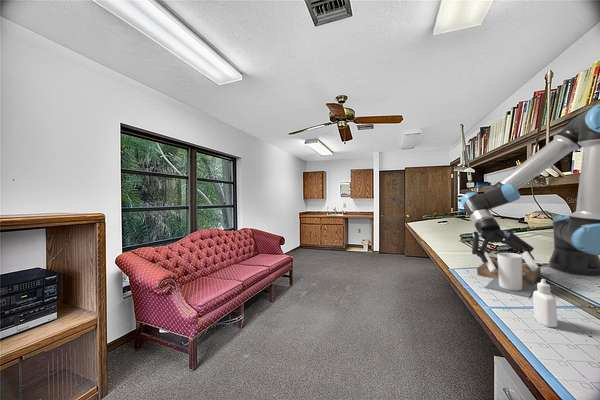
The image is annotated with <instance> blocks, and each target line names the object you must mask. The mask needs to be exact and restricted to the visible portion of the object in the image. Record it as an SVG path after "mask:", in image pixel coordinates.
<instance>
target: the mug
mask: <svg viewBox="0 0 600 400" xmlns="http://www.w3.org/2000/svg"><path fill="white" fill-rule="evenodd" d="M521 255H522V254H521ZM521 255H520V254H518V253H513V252H498V253H497V255H496V256H497V259H496V260H498V268H497V270H498V275H499V286H500V287H502V288H504V289H508V290H513V291H520V290H522V274H523V272H522V264H523V257H522V256H521Z"/></svg>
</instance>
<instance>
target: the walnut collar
mask: <svg viewBox="0 0 600 400" xmlns="http://www.w3.org/2000/svg"><path fill="white" fill-rule="evenodd" d="M490 259H491V258H490ZM491 261H492V263H493V264H494V266H495V268H496V269H495V270H494V271H493V272H490V270H489V269H488V267H487V265H486V263H483V262H482V264H481V265H479V266H478V267H476V271H477V276H482V277H487V278H490V279H491V278H492V279H494V278H497V279H499V275H498V259H491ZM537 266H538V267H539V268H537V269H536V270H535V271H532V270H531V269H530V267H529V266H528V265H527V263H525V264H524V263H522V284H528V285H533V286H535V285H534V284H535V283H536V282H537V280H538V278H539V277H540V276H541V274H542V273H541V271H542V269H541V268H542V267H541V266H539V265H537ZM523 273H525V274H523Z"/></svg>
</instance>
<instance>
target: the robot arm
mask: <svg viewBox="0 0 600 400" xmlns="http://www.w3.org/2000/svg"><path fill="white" fill-rule="evenodd" d="M580 149H582V156H581V166H580V172H579V173H580V174H579V182H578V190H577V191H578V192H577V198H576V206H575V207H576V209H575V211H574V212H572V213H570V214H568V215H561V214H560V215H554V217H553V219H552V225H553V226H552V227H553V228H552V229H553V252H552V254H551V257H550V259H549V261H548V263H549V267H550V268H551V269H553V270H556V271H559V272H560V271H561V272H563V273H568V274H569V273H570V274H575V275H585V276H600V103H598V104H596V105H594V106H593V107H591V108H590V109H588V110H586V111H584V112H581V113H580V114H578V115H577V116H576V117H575V118H574V119H572V120H571V121H570V122H569V123H568V124H567V125H566V126H565V127H563V128H562V129H561V130H560V131H558V132H557V133H556V134H554V135H553V140H552V141H550V142H549V143H547V144H546V145H545V146H543V147H542V148H541V149H540V150H538V151H537V152H535V153H534V154H533V155H531V156H530V157H529V158H527V159H526V160H525V161H524V162H523V163H521V164H520V165H519V166H517V167H516V168H514V169H513V170H512V171H511V172H509V173H508V174H507V175H505V176H503V177H502V178H501V179H500V180H498V182H497V183H496V182H495V184H494V185H492V186H490V187H488V188H487V189H486V190H485V191H484V193H480V194H479V193H478V192H476V191H471V192H466V193H465V194H463V195H462V196H461V199H460V203H461V205H462V207H463V208H464V210H465V213H466V214H467V215H468V217H469V219H470V220H471V222H472V223H473V226H474V228H475V229H476V231H473V232H472V234H471V237H472V249H471V254H472V255H476V256H477V257H479V258H480V260H481V262H482V264H483V263H486V265H487V267H488V269H489V270H490V272H493V271H494V270H497V268H495V266H494V264H493V263H492V261H491V257H490V255H489V253H488V252H486V248H487V246H488V244H489V243H491V244H495V243H496V244H500V243H501V244H503V245H506V246H508V247H509V248H512V249H514V250H515V251H517V252H519V253H520V254H521V256H522V260H524V262H525V264H527V265H528V266H529V267H530V269H531V270H532V271H535V270H536V269H537V268H539V267H538V266H539V265H537V263H536V262H535V258H534V256H533V254H532V252H533V251H534V250H535V248H534V247H533V246H532V245H530V244H529V243H527V242H526V241H525V240H523V239H522V238H520V237H519V236H517V235H516V234H515V233H514V232H513V231H512V230H511V229H508V230H506V231H503V230H502V229H501V226H500V224H499V223H498V221H497V220H496V219H495V217H494V215H493V214H492V213H491V211H490V210H493V209H495V208H498V207H501V206H504V205H507V204H510V203H511V204H512V203H513V202H515V201H518V200H520V198H521V194H520V192H519V189H520V188H522V187H523V186H525V185H526V184H528V183H530V181H532V180H533V179H534V178H536V177H538V176H539V175H541V173H543V172H545V171H546V170H548V168H550V167H551V166H553V165H554V164H556V163H557V162H558V161H560V160H561V159H563V158H564V157H565V156H567V155H568V154H569V153H571V152H574V151H579V150H580ZM480 238H482V239H483V241H482V244H481V246H480V248H479V243H480Z"/></svg>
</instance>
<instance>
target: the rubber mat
mask: <svg viewBox="0 0 600 400" xmlns="http://www.w3.org/2000/svg"><path fill="white" fill-rule="evenodd" d="M484 288H485V289H488V290H494V291H497V292H501V293H505V294H511V295H515V296H520V297H524V298H528V299H530V298H531V296H532V294H533V292H534V291H536V288H537V285H528V284H522V290H520V291H513V290H508V289H504V288H502V287H500V286H499V279H497V278H492V280H491V281H490V282H488V283H487V284H486V285H485V286H484Z"/></svg>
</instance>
